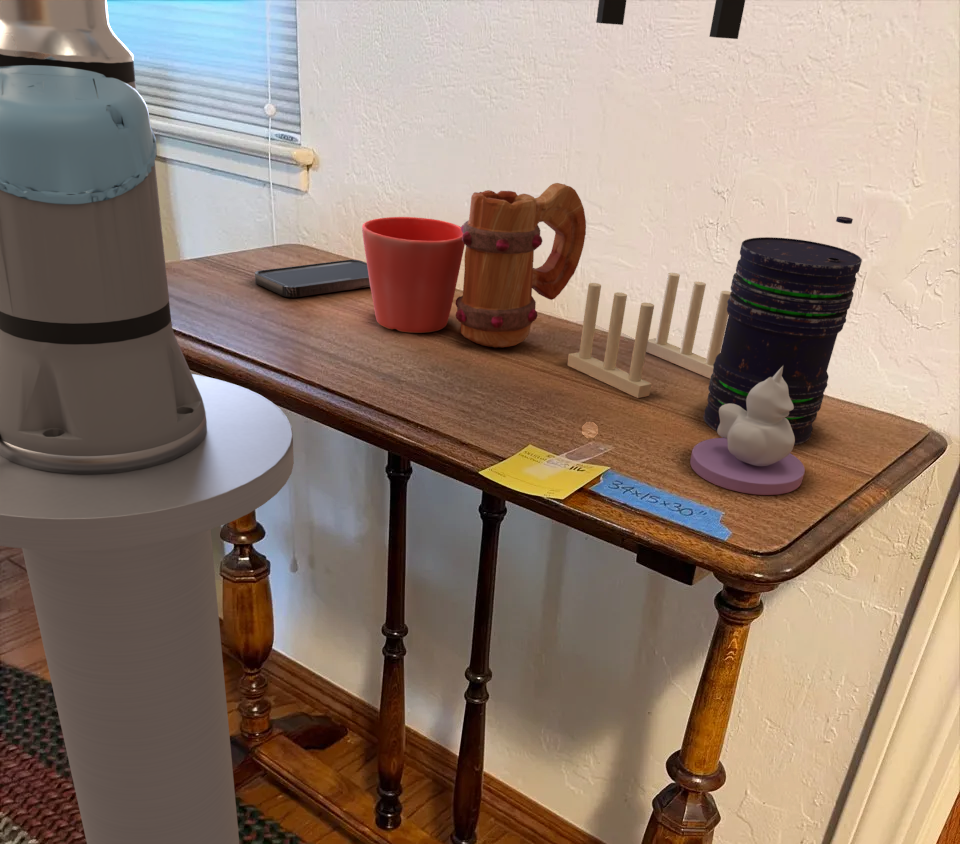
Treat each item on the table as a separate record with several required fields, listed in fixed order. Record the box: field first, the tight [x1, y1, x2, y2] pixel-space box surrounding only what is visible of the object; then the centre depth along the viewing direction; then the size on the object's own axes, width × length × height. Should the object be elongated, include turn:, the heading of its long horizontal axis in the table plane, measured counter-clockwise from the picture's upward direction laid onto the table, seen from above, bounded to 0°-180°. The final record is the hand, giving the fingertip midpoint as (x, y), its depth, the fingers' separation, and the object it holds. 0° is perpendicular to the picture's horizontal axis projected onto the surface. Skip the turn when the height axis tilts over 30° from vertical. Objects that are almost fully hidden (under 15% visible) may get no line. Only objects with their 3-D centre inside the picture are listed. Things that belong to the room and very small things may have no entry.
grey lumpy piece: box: [716, 366, 795, 466], centre depth 75 cm, size 5×7×8 cm
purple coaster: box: [689, 437, 806, 496], centre depth 78 cm, size 9×9×1 cm
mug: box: [455, 182, 587, 349], centre depth 98 cm, size 15×8×15 cm, turn 122°
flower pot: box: [361, 216, 466, 334], centre depth 101 cm, size 11×11×10 cm
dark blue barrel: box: [703, 216, 863, 446], centre depth 81 cm, size 10×10×18 cm
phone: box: [254, 259, 371, 298], centre depth 113 cm, size 8×1×15 cm
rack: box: [567, 272, 731, 399], centre depth 94 cm, size 13×10×8 cm
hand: (663, 31), depth 83 cm, fingers open, 13 cm apart
